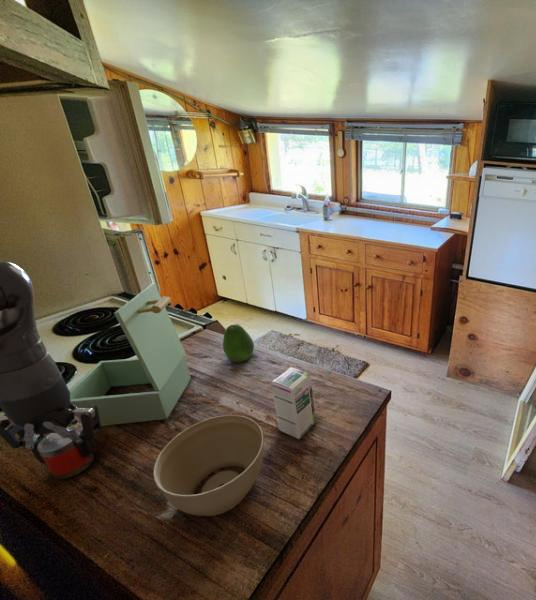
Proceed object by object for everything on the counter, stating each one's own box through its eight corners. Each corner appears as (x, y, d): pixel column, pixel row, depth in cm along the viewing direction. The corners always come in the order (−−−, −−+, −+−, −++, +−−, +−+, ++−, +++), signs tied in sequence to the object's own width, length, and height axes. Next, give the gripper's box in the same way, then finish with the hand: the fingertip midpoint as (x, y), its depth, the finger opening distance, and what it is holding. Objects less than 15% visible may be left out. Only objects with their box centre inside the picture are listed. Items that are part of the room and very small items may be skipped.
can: (44, 481, 58) (27, 454, 55) (67, 454, 63) (52, 428, 60) (81, 476, 59) (66, 449, 56) (100, 450, 64) (88, 424, 61)
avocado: (220, 364, 93) (212, 327, 88) (242, 350, 100) (235, 315, 95) (241, 371, 90) (233, 334, 85) (262, 357, 97) (256, 322, 92)
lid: (113, 312, 61) (143, 308, 62) (150, 283, 74) (175, 280, 75) (155, 392, 69) (181, 387, 70) (182, 353, 82) (204, 350, 83)
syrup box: (299, 442, 70) (293, 389, 63) (278, 433, 72) (270, 380, 66) (316, 424, 74) (311, 373, 68) (296, 415, 76) (290, 365, 70)
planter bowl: (203, 562, 49) (187, 518, 44) (153, 503, 57) (134, 460, 52) (289, 481, 61) (282, 440, 57) (238, 441, 69) (228, 402, 65)
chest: (71, 432, 69) (55, 402, 66) (111, 387, 82) (99, 361, 79) (168, 422, 73) (158, 393, 70) (191, 380, 86) (184, 354, 83)
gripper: (94, 365, 57) (124, 435, 65) (-5, 373, 55) (38, 445, 62) (64, 394, 51) (101, 468, 58) (-51, 404, 48) (3, 481, 55)
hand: (68, 455), depth 60 cm, fingers closed on can, 5 cm apart
